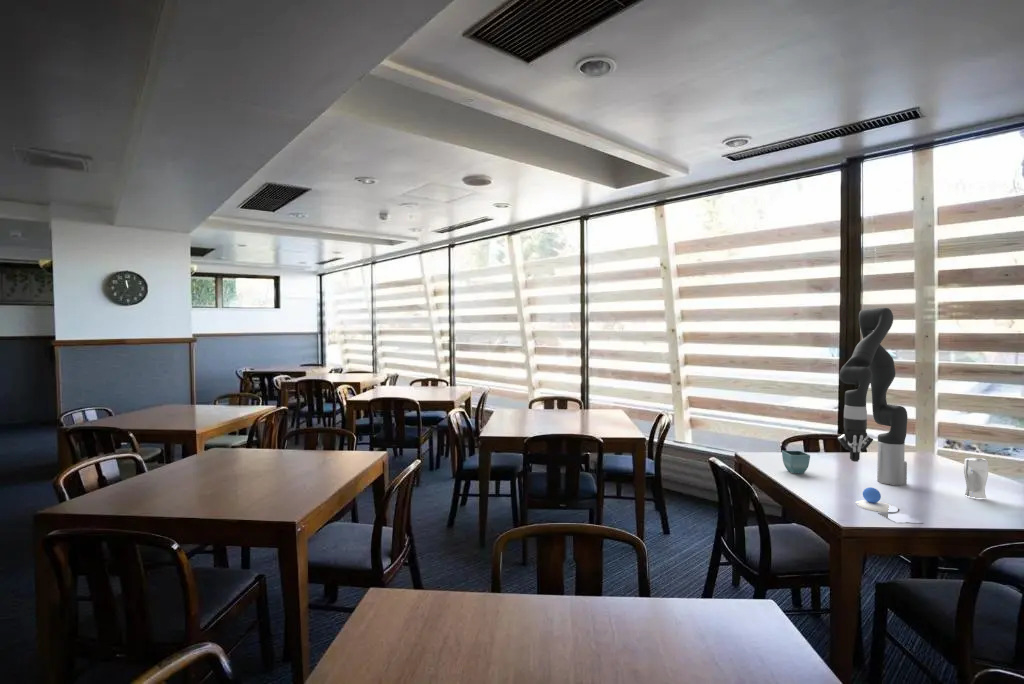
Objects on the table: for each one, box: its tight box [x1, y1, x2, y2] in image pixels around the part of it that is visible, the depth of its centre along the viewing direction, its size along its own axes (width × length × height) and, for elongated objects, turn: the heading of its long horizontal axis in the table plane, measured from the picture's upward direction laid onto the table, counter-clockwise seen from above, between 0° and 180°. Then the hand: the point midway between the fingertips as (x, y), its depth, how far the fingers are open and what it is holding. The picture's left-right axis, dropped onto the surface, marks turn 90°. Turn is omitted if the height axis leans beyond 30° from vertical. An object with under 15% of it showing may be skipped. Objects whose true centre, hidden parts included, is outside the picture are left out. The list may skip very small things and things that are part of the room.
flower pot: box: [781, 450, 811, 474], centre depth 233 cm, size 9×9×9 cm
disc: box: [855, 499, 893, 513], centre depth 186 cm, size 13×13×1 cm
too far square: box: [877, 512, 888, 519], centre depth 174 cm, size 9×9×1 cm
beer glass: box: [963, 456, 989, 499], centre depth 196 cm, size 7×7×15 cm
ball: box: [862, 487, 882, 503], centre depth 191 cm, size 6×6×6 cm
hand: (854, 461), depth 199 cm, fingers closed
